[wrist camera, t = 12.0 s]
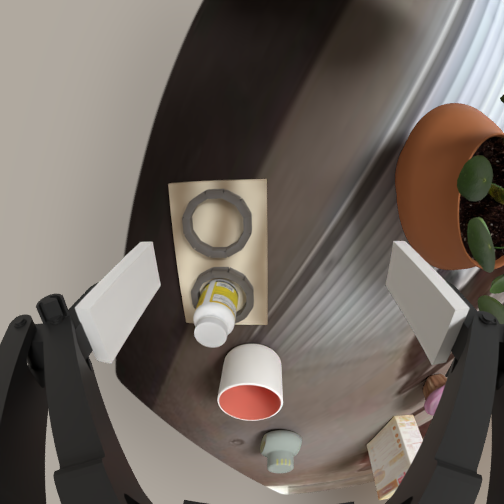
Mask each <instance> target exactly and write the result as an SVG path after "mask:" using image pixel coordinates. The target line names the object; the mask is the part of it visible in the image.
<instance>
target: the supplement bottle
mask: <svg viewBox="0 0 504 504" xmlns="http://www.w3.org/2000/svg"><path fill="white" fill-rule="evenodd" d="M237 305H238V291H237V289H236V287H235V286H234V285H233V284H232V283H230V282H229V281H226V280H223V279H215V280H212V281H210V282H208V283H207V284H206V285H205V287H204V289H203V291H202V293H201V296H200V299H199V302H198V304H197V307H196V310H195V312H194V316H193V321H194V325H195V330H194V335H195V338H196V340H197V341H198V342H199V343H200V344H202V345H204V346H207V347H219V346H221V345H223V344H224V343H225V341H226V339H227V335H228V334H229V333H231V331H232V330H233V328H234V325H235V319H236V312H237Z"/></svg>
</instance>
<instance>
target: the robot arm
mask: <svg viewBox="0 0 504 504" xmlns="http://www.w3.org/2000/svg"><path fill="white" fill-rule="evenodd" d="M160 286H161V284H160V279H159V274H158V269H157V264H156V258H155V252H154V247H153V242H140V243H139V244H138V245H137V246H136V247H135V248H134V249H132V250H131V251H130V252H129V253H128V254H127V255H126V256H125V257H124V258H123V259H122V260H121V261H120V262H119V263H118V264H117V265H116V266H115V267H114V268H113V269H112V270H111V271H110V272H109V273H108V274H107V275H106V276H105V277H104V278H103V279H102V280H101V281H100V282H98V283H96V284H94V285H93V286H91V287H90V288H89V289H88V290H87V291H86V292H85V294H83V295H82V296H81V297H80V299H78V300H77V301H76V302H75V303H74V305H73V306H72V307H71V308H70V309H69V310H68V308H67V306H66V303H65V300H64V298H63V295H61V294H52V295H48V296H46V297H44V298H43V299H41V300H40V301H39V302H38V303H37V305H36V308H37V310H38V313H39V315H40V317H41V319H42V322H43V324H34V322H33V320H32V318H31V316H30V315H20V316H18V317H16V318H15V319H14V320H13V321H12V322H11V323H10V325H9V327H8V329H7V331H6V333H5V335H4V337H3V340H2V342H1V344H0V504H46V493H45V441H46V427H47V416H48V409H49V416H50V422H51V428H52V433H53V438H54V443H55V447H56V451H57V456H58V460H59V464H60V470H57V471H55V472H54V481H55V485H56V489H57V492H58V495H59V498H60V501H61V504H152V502H151V501H150V500H149V499H148V497H147V496H146V495H145V493H144V492H143V490H142V489H141V487H140V485H139V483H138V481H137V479H136V477H135V475H134V473H133V471H132V469H131V467H130V466H129V464H128V461H127V459H126V457H125V455H124V453H123V450H122V448H121V446H120V444H119V441H118V439H117V437H116V434H115V432H114V429H113V427H112V424H111V421H110V419H109V416H108V413H107V411H106V408H105V405H104V402H103V399H102V396H101V393H100V390H99V387H98V384H97V381H96V377H95V374H94V370H93V367H92V363H91V361H90V359H89V357H88V356H89V355H90V353H91V352H92V351H93V353H94V355H95V357H96V359H97V361H100V362H105V363H110V364H111V363H112V362H113V360H114V359H115V357H116V355H117V354H118V352H119V350H120V349H121V347H122V345H123V344H124V342H125V341H126V339H127V337H128V336H129V334H130V332H131V331H132V329H133V328H134V326H135V324H136V323H137V321H138V320H139V318H140V317H141V315H142V313H143V312H144V310H145V309H146V307H147V306H148V304H149V302H150V301H151V299H152V298H153V296H154V295H155V293H156V292H157V290H158V289H159V287H160ZM385 286H386V287H387V289H388V290H389V292H390V294H391V295H392V297H393V298H394V300H395V301H396V303H397V305H398V306H399V308H400V310H401V311H402V313H403V315H404V316H405V318H406V320H407V321H408V323H409V325H410V326H411V328H412V330H413V332H414V333H415V335H416V337H417V339H418V340H419V342H420V344H421V346H422V347H423V349H424V351H425V353H426V355H427V357H428V358H429V360H430V362H431V364H432V365H435V364H440V363H445V362H446V361H447V359H448V357H449V355H450V353H451V351H452V353H453V354H454V356H455V358H454V360H453V362H452V364H451V366H450V368H449V370H448V372H447V373H446V375H445V376H446V377H447V376H448V378H447V381H446V384H445V387H444V390H443V393H442V395H441V398H440V401H439V404H438V406H437V409H436V411H435V414H434V416H433V419H432V421H431V424H430V426H429V428H428V430H427V433H426V435H425V437H424V439H423V441H422V444H421V446H420V448H419V450H418V452H417V454H416V456H415V458H414V460H413V461H412V463H411V465H410V467H409V469H408V471H407V472H406V474H405V476H404V478H403V479H402V481H401V483H400V484H399V486H398V488H397V489H396V491H395V492H394V494H393V495H392V496H391V498H390V499H389V500H388V501H387V502H386V503H385V504H474V503H475V500H476V497H477V495H478V492H479V490H480V487H481V483H482V476H481V475H479V474H477V467H478V464H479V461H480V458H481V454H482V451H483V447H484V443H485V439H486V435H487V431H488V427H489V422H490V417H491V414H492V456H491V471H490V482H489V489H488V496H487V503H486V504H504V324H499V321H498V320H497V318H496V317H495V316H494V315H492V314H490V313H488V312H485V311H477V310H476V309H475V308H474V307H473V306H472V305H471V304H470V302H469V301H468V300H467V299H466V298H464V296H463V295H462V294H461V293H460V291H459V290H458V289H457V288H456V287H455V286H454V285H452V284H450V283H449V282H447V281H445V280H444V279H443V278H442V277H441V276H440V275H439V274H438V273H437V272H436V271H435V270H434V269H433V268H432V267H431V266H430V265H429V264H428V263H427V262H426V261H425V260H424V259H423V258H422V257H421V256H420V255H419V254H418V253H417V252H416V251H415V250H414V249H413V248H412V247H411V246H410V245H409V244H408V243H407V242H405V241H393V246H392V252H391V258H390V263H389V269H388V274H387V279H386V284H385ZM27 363H28V365H27ZM183 504H206V503H199V502H193V501H188V500H184V503H183ZM341 504H354V502H348V503H341Z"/></svg>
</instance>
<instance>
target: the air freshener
mask: <svg viewBox="0 0 504 504" xmlns="http://www.w3.org/2000/svg"><path fill="white" fill-rule="evenodd" d="M301 443H302V439H301V437H300V436H299V435H298V434H296V433H295V432H292V431H288V430H276V431H271V432H268V433H266V434H265V435H264V436H263V439H262V442H261V446H260V453H261V454H262V455H263V456H265V457H267V458H268V459H267V469H268V470H269V471H270V472H273V473H286V472H289V471H291V470H292V469H293V468H294V461H293V456H295V455H297V453H298V452H299V450H300V447H301Z"/></svg>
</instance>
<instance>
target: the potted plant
mask: <svg viewBox="0 0 504 504" xmlns="http://www.w3.org/2000/svg"><path fill="white" fill-rule="evenodd" d="M500 99H501V101H502V102H503V103H504V95H503V96H502V97H501V98H500ZM395 187H396V193H397V206H398V212H399V218H400V221H401V225H402V228H403V231H404V233H405V236H406V238H407V240H408V242H409V244H410V245H411V247H412V248H413V249H414V250H415V251H416V252H417V253H418V254H419V255H420V256H421V257H422V258H423V259H424V260H425V261H426V262H427V263H428V264H430V265H432V266H434V267H437V268H439V269H444V270H458V269H468V268H472V267H475V266H477V267H479V268H481V269H483V270H485V271H486V272H492V271H493V270H494V269H496V268H499V267H501V266H503V265H504V133H503V132H502V130H501V129H500V128H499V127H498V126H497V125H496V124H495V123H494V122H493V121H492V120H490V119H489V118H488V117H487V116H486V115H484V114H483V113H482V112H480V111H479V110H477V109H475V108H473V107H471V106H468V105H465V104H459V103H450V104H444V105H441V106H438V107H436V108H435V109H433V110H431V111H430V112H428V113H427V114H426V115H425V116H424V117H423V118H421V119H420V121H419V122H418V123H417V124H416V126H415V127H414V129H413V130H412V132H411V133H410V135H409V137H408V139H407V141H406V144H405V146H404V147H403V149H402V151H401V153H400V156H399V158H398V162H397V166H396V172H395ZM501 292H504V274H503V275H501V276H499V277H497V278H495V279H494V280H493V282H492V285H491V289H490V293H494V294H495V293H501ZM478 307H479V311H485V312H488V313H490V314H492V315H494V316H495V317H496V318H497V320H498V321H499V324H504V306H503V305H502V304H501V303H500V302H499V301H497V300H496V299H494V298H492V297H490V296H481V297H479V299H478Z"/></svg>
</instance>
